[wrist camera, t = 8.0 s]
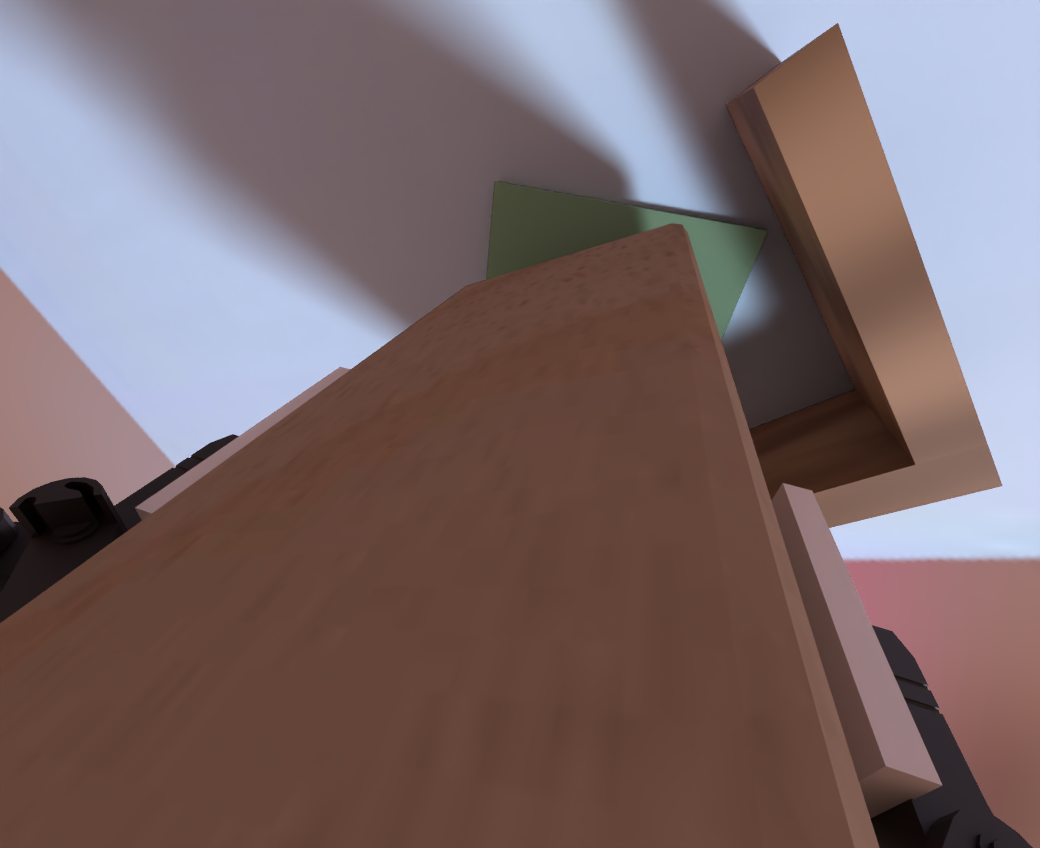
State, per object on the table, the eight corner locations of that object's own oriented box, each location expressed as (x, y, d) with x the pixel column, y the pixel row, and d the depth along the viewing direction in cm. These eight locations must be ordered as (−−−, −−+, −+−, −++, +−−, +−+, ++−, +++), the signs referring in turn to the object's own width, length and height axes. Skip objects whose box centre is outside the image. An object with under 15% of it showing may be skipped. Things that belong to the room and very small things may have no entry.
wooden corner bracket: (420, 338, 26) (363, 383, 21) (781, 62, 15) (837, 23, 11) (568, 523, 30) (551, 595, 25) (919, 404, 20) (1002, 486, 15)
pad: (478, 399, 27) (475, 402, 26) (497, 181, 20) (494, 181, 20) (672, 450, 25) (672, 454, 25) (765, 229, 18) (767, 230, 18)
